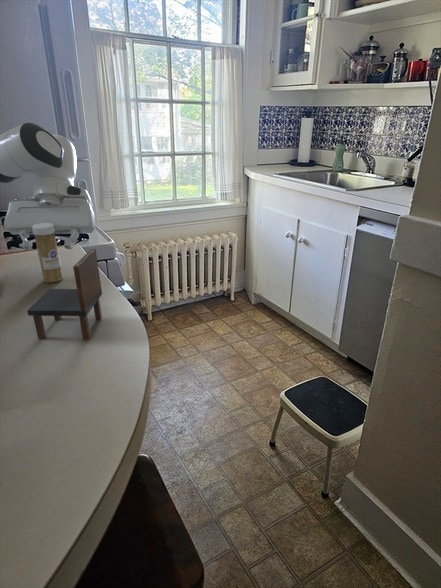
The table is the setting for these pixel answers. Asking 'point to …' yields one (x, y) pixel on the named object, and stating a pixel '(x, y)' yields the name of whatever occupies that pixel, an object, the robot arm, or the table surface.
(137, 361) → the table surface
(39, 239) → the sprinkles bottle
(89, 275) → the chair
